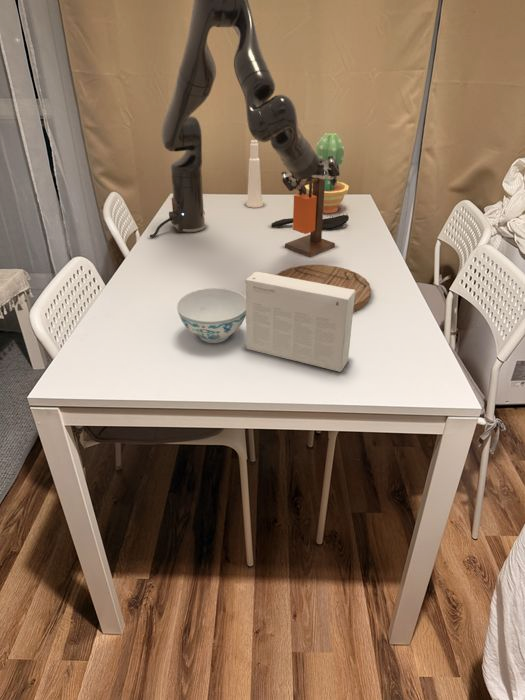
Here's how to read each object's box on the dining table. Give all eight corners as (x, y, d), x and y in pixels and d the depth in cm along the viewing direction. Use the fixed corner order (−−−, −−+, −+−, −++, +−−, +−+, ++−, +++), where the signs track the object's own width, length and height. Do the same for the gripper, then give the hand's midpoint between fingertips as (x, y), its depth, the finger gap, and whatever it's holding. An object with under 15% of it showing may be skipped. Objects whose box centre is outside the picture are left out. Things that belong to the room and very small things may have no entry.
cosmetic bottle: (242, 205, 193) (241, 140, 181) (253, 201, 196) (253, 137, 185) (255, 208, 189) (255, 143, 177) (266, 204, 193) (266, 140, 181)
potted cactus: (352, 205, 192) (359, 131, 179) (339, 218, 181) (346, 140, 167) (311, 200, 198) (315, 127, 184) (296, 212, 186) (299, 136, 172)
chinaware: (222, 361, 109) (220, 328, 105) (165, 340, 116) (161, 309, 112) (261, 329, 120) (261, 298, 115) (207, 312, 126) (205, 282, 122)
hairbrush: (270, 213, 176) (346, 209, 176) (271, 224, 178) (346, 220, 178) (271, 222, 170) (351, 217, 169) (272, 233, 172) (350, 228, 172)
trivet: (293, 264, 149) (293, 258, 148) (381, 282, 140) (382, 275, 139) (252, 302, 130) (252, 295, 129) (351, 325, 121) (352, 318, 120)
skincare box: (349, 359, 110) (357, 289, 101) (341, 373, 106) (348, 301, 97) (256, 336, 117) (255, 269, 108) (244, 348, 113) (243, 280, 104)
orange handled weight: (305, 234, 152) (307, 181, 144) (292, 229, 155) (294, 177, 147) (314, 230, 154) (317, 178, 146) (302, 226, 158) (304, 174, 149)
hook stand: (302, 260, 152) (306, 169, 138) (277, 250, 158) (278, 162, 144) (334, 246, 160) (341, 160, 146) (309, 237, 166) (313, 153, 152)
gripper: (324, 133, 128) (343, 166, 142) (269, 152, 133) (292, 182, 148) (329, 161, 126) (347, 191, 141) (272, 179, 131) (296, 207, 146)
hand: (319, 186), depth 144 cm, fingers open, 7 cm apart
